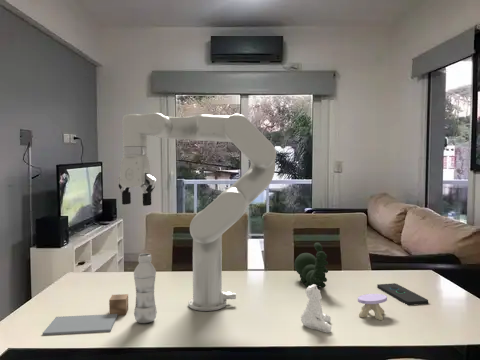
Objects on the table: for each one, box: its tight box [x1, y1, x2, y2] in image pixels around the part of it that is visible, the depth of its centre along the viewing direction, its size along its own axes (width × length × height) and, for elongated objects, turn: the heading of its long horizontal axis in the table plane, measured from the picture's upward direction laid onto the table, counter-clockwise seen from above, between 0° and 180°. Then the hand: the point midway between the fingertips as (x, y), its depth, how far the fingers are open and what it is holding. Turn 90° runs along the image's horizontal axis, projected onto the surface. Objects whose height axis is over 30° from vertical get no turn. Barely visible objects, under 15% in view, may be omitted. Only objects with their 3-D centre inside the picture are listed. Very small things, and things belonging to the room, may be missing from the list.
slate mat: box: [42, 313, 119, 336], centre depth 119 cm, size 18×12×1 cm, turn 98°
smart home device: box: [376, 283, 429, 306], centre depth 146 cm, size 8×2×20 cm
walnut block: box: [108, 293, 129, 316], centre depth 129 cm, size 5×5×5 cm
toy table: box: [357, 293, 388, 321], centre depth 126 cm, size 10×9×6 cm
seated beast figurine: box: [300, 284, 332, 334], centre depth 118 cm, size 10×9×12 cm
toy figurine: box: [294, 242, 329, 289], centre depth 159 cm, size 9×19×25 cm
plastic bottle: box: [133, 253, 158, 324], centre depth 121 cm, size 6×7×20 cm
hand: (136, 204), depth 134 cm, fingers open, 9 cm apart
